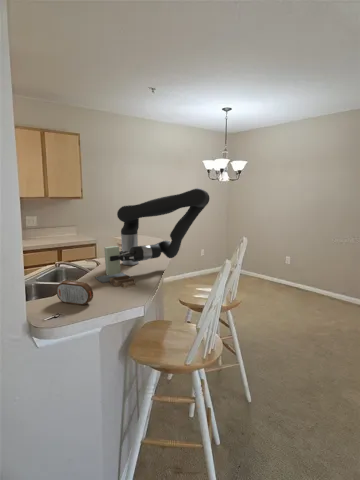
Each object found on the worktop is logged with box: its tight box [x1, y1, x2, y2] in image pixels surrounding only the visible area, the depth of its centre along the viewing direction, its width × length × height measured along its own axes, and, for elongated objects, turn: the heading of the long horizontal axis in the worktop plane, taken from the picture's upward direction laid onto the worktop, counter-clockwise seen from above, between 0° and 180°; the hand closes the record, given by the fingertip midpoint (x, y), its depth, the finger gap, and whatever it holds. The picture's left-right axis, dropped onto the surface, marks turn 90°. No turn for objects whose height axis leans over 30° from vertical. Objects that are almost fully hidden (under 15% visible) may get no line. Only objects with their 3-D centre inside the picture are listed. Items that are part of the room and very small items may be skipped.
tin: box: [55, 279, 94, 306], centre depth 119 cm, size 15×3×8 cm, turn 71°
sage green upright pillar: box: [103, 245, 122, 275], centre depth 151 cm, size 4×6×13 cm, turn 124°
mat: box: [95, 272, 132, 284], centre depth 152 cm, size 10×14×1 cm
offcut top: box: [121, 281, 136, 288], centre depth 140 cm, size 3×5×1 cm, turn 124°
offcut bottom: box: [120, 283, 137, 289], centre depth 140 cm, size 4×6×1 cm, turn 124°
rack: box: [109, 274, 135, 287], centre depth 145 cm, size 7×9×2 cm
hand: (108, 258), depth 150 cm, fingers closed on sage green upright pillar, 3 cm apart
